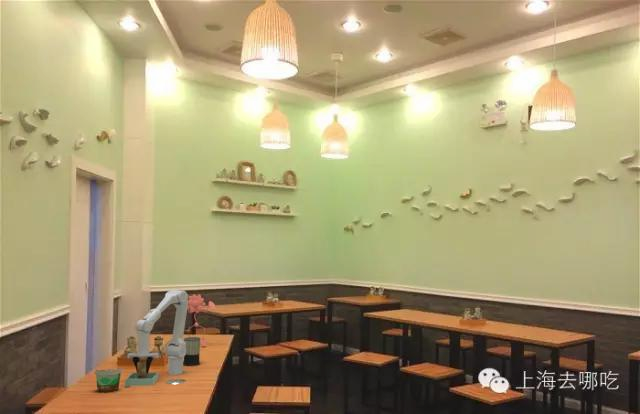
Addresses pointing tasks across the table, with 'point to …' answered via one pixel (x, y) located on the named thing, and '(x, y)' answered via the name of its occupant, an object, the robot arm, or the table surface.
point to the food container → (108, 380)
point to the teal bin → (134, 380)
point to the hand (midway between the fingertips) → (142, 372)
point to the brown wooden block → (142, 369)
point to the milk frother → (192, 351)
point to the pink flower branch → (198, 309)
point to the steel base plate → (175, 381)
